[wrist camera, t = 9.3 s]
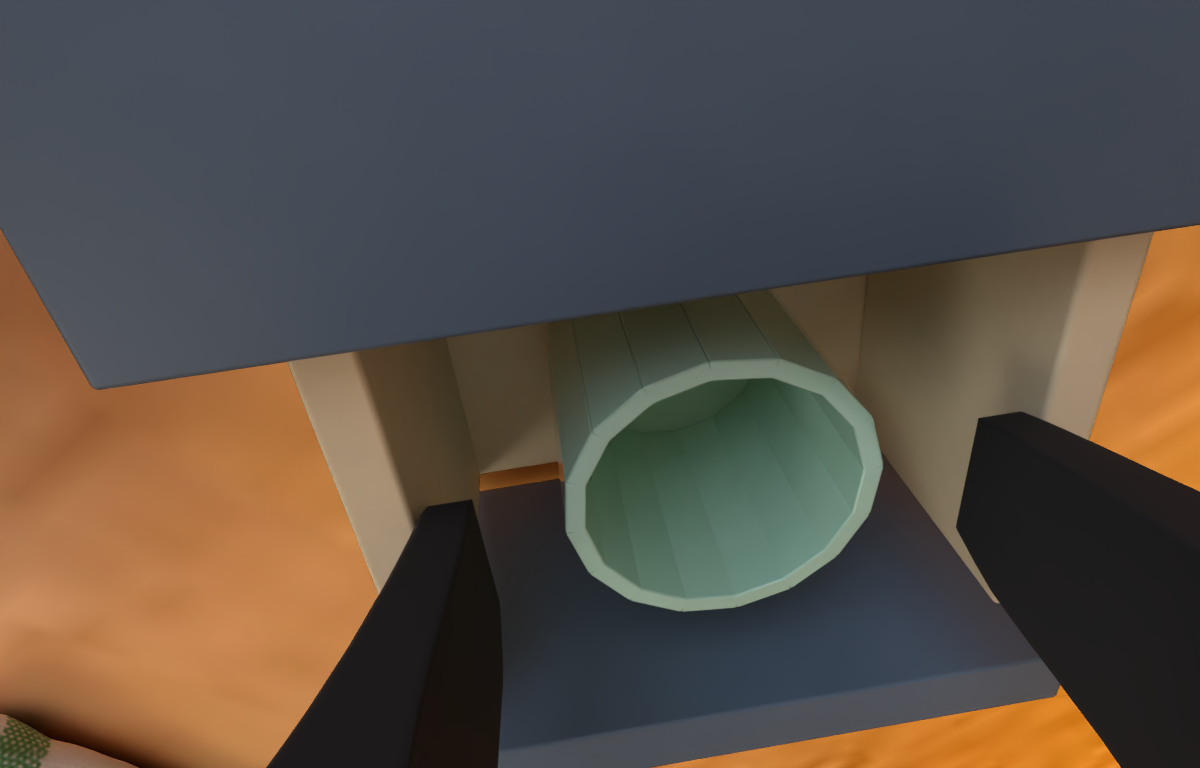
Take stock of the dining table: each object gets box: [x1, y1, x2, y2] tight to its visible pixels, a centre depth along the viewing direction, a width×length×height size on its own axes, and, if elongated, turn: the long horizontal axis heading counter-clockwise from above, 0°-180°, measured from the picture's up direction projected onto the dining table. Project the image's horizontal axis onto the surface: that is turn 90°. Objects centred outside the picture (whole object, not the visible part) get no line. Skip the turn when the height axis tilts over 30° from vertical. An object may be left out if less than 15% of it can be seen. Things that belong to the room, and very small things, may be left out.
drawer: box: [287, 232, 1154, 768], centre depth 13 cm, size 19×11×7 cm, turn 6°
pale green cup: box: [547, 289, 883, 612], centre depth 12 cm, size 5×5×5 cm
